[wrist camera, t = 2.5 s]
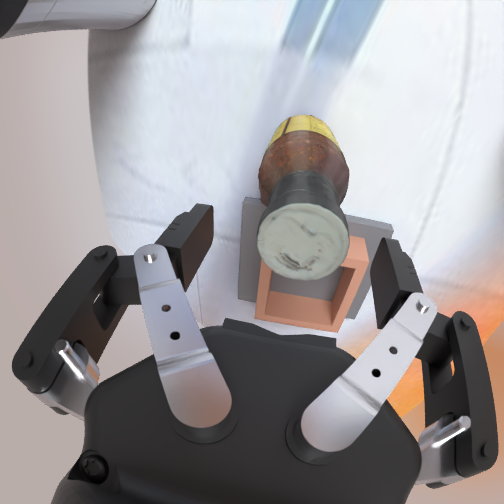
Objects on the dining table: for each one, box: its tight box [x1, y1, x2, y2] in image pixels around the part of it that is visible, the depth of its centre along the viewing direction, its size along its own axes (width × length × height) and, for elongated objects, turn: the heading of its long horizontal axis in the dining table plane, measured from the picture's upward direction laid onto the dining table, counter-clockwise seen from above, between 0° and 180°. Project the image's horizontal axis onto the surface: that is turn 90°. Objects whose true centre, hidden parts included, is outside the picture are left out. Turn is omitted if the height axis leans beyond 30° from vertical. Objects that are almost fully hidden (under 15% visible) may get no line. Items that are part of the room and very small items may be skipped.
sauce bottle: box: [256, 115, 350, 281], centre depth 19 cm, size 6×6×20 cm
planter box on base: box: [238, 197, 394, 333], centre depth 34 cm, size 18×16×6 cm
